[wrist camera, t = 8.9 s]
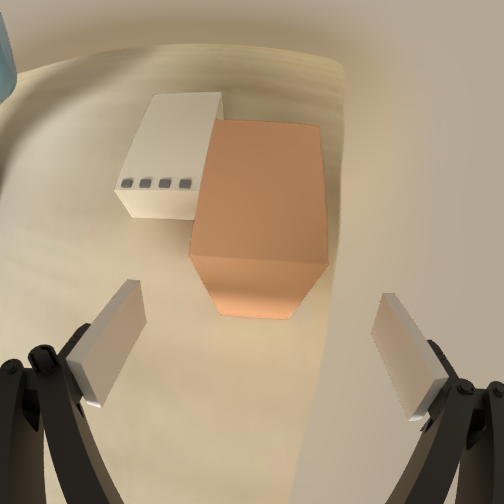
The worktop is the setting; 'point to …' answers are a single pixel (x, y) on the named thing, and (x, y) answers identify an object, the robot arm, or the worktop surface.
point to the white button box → (169, 156)
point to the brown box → (261, 217)
